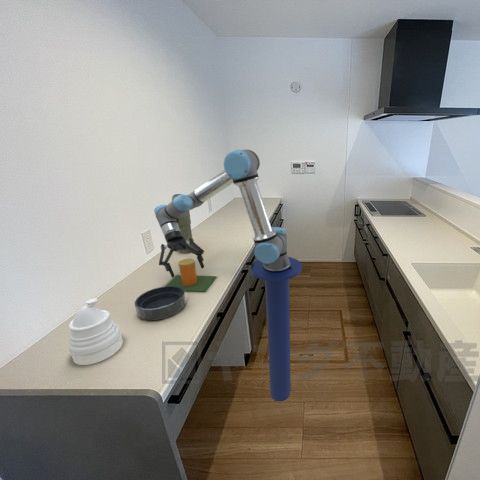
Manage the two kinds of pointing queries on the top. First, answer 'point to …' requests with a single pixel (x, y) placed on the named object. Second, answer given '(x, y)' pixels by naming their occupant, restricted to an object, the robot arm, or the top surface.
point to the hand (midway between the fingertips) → (188, 271)
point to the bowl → (160, 302)
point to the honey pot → (93, 335)
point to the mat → (200, 286)
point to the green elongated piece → (184, 226)
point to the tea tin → (188, 272)
